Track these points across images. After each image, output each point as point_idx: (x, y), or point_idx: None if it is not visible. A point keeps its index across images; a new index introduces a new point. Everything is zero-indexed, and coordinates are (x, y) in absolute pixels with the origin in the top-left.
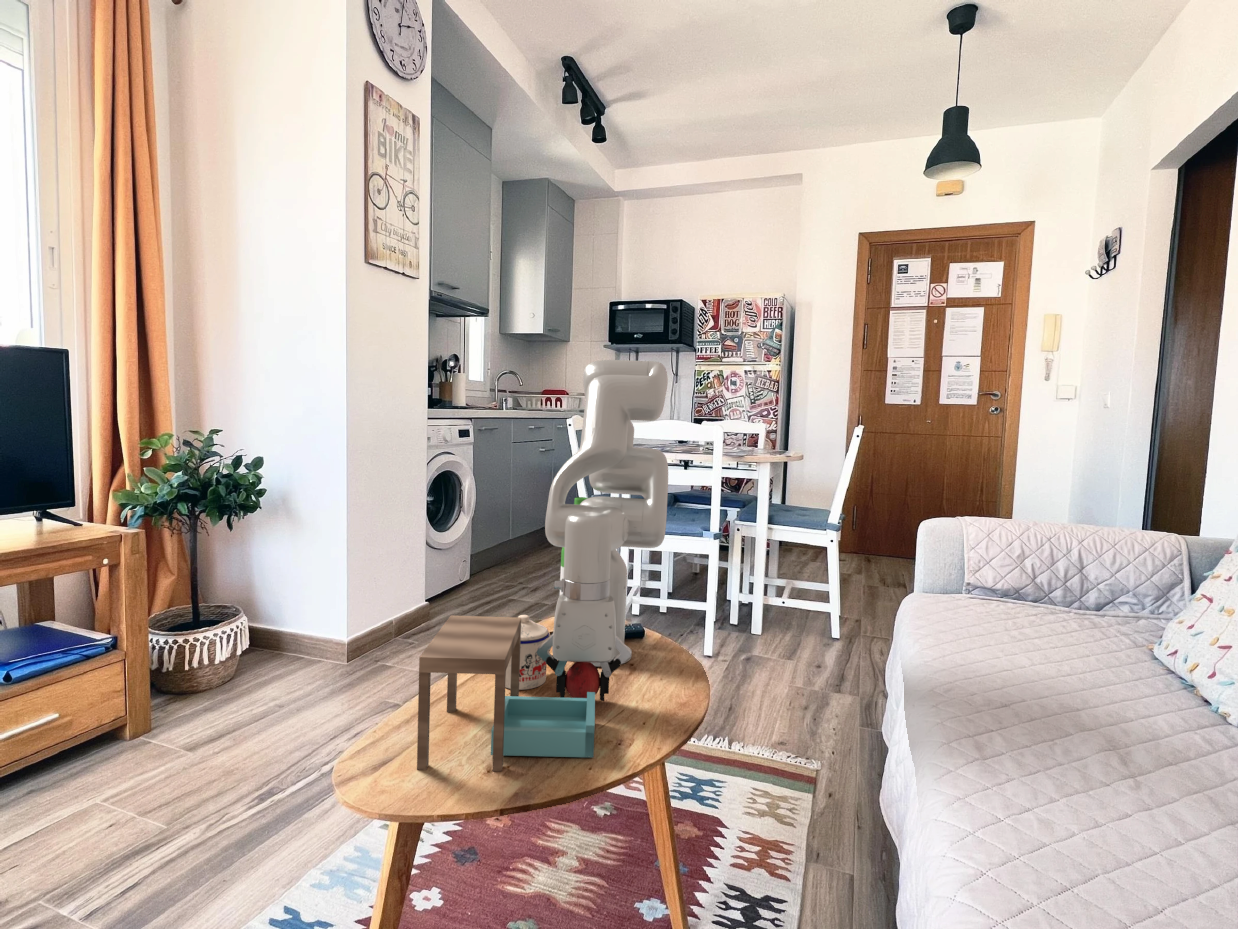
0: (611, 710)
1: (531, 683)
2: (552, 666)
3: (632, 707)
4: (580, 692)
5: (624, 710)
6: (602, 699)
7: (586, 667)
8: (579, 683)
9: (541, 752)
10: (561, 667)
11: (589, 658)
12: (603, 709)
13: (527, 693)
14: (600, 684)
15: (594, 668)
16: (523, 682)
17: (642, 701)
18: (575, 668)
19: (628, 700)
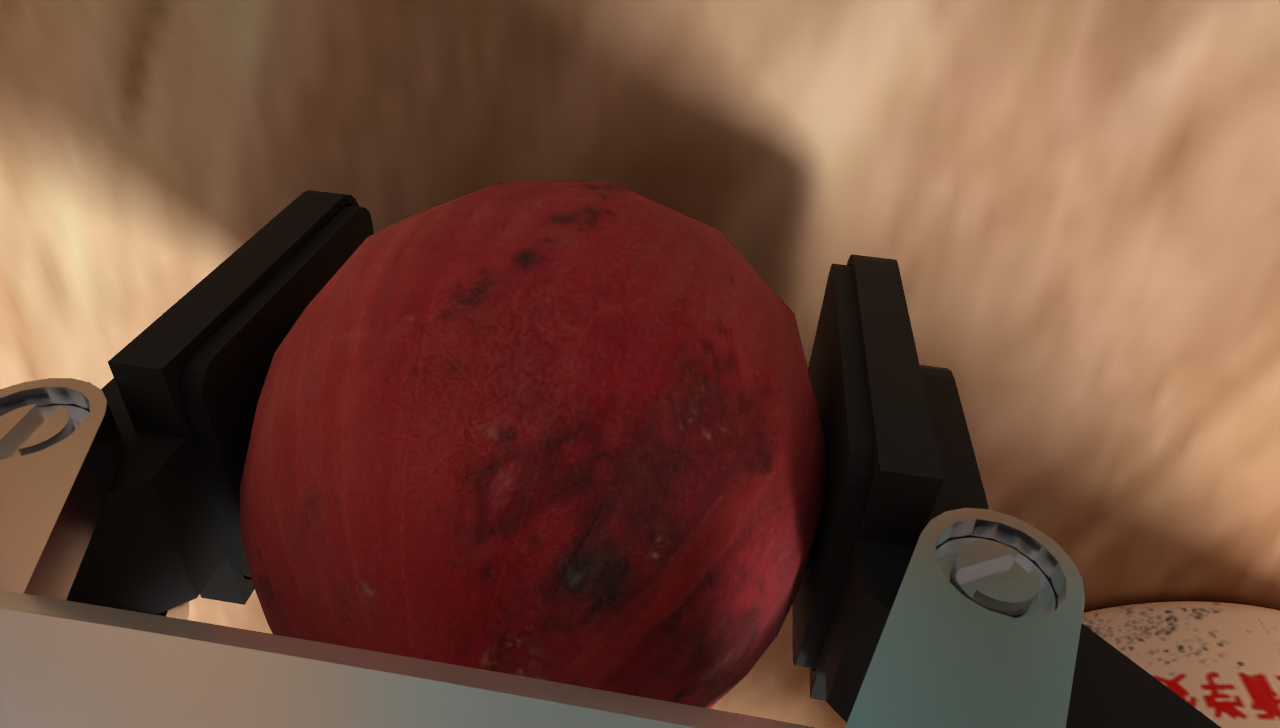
0: (259, 90)
1: (1132, 650)
2: (1145, 720)
3: (53, 155)
4: (590, 190)
5: (114, 83)
6: (326, 198)
7: (376, 571)
8: (581, 277)
9: None
10: (955, 651)
11: (22, 711)
12: (355, 122)
13: (1178, 538)
14: (256, 315)
15: (259, 570)
16: (1241, 665)
17: (5, 280)
18: (628, 593)
19: (142, 311)
